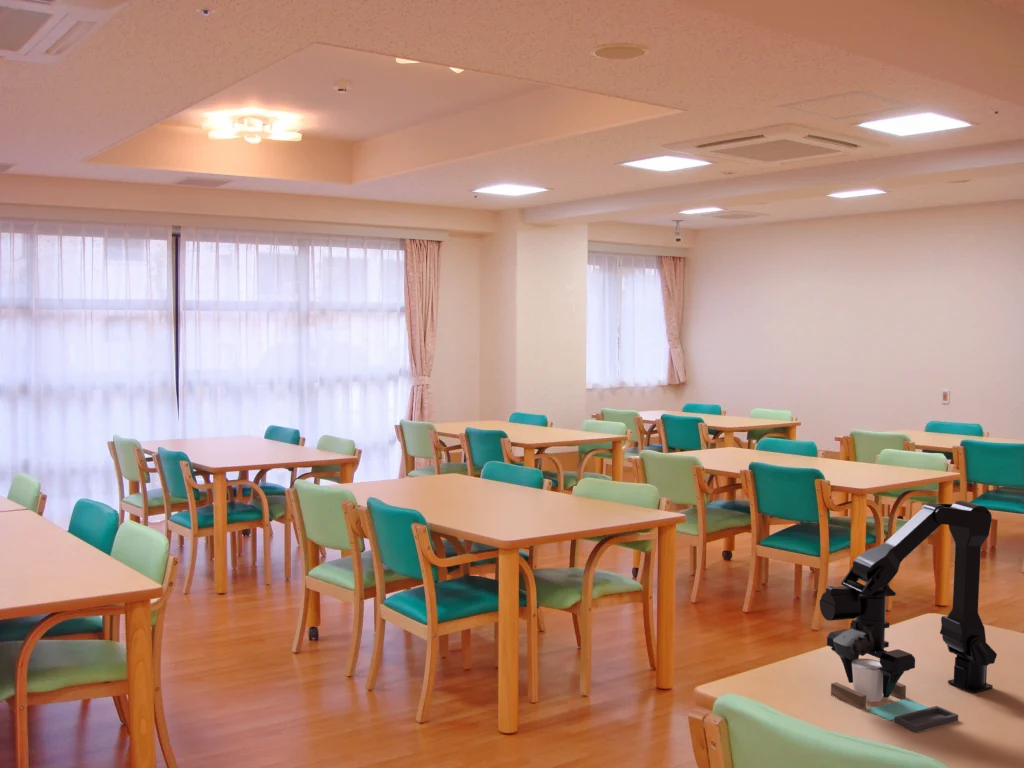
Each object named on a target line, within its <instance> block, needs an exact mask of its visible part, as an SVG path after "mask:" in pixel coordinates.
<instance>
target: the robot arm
mask: <svg viewBox="0 0 1024 768" xmlns="http://www.w3.org/2000/svg"><path fill="white" fill-rule="evenodd" d="M992 520H993V518H992V513H991V511H990V510H989V509H988V508H987V507H986V506H983V505H979V504H976V503H972V502H969V501H965V500H957V501H955V502H953V503H943V502H942V503H941V502H940V503H935V502H934V503H933V502H926V503H924V504H922V506H921V508H920V510H919V511H918V512H917V513H915V515H913V516H912V517H911V518H910V519H909V520H908V521H907V522H906V523H905V524H904V525H902V526H901V527H900V528H899V529H898V530H897V531H896V532H895V533H893V535H891V536H890V537H889V538H888V539H887V540H886V541H885V542H884V543H881V544H880V545H878V546H875V547H872V548H868V549H867V550H866V551H864V552H863V553H861V554H859V555H858V556H857V557H855V558H854V560H853V562H852V566H851V568H850V569H849V571H848V573H847V574H846V575H845V576H844V578H843V579H842V581H841V583H840V584H841V586H834V585H832V586H831V585H830V586H829V585H827V586H826V587H825V592H823V594H821V598H820V599H819V608H820V609H819V610H820V613H821V615H822V617H823V618H824V619H825V620H826V621H831V622H832V621H842V620H843V621H844V620H851V622H850V623H849V625H850V626H849V629H845V628H843V629H840V630H835V631H830V632H829V633H828V635H827V636H826V646H827V647H830V648H831V651H833V652H834V653H835V654H837V655H838V657H839V659H840V660H841V663H842V665H843V668H844V671H845V674H846V678H847V681H848V683H850V684H853V673H852V661H853V660H855V659H860V658H859V657H860V656H861V657H863V656H865V655H870V656H872V657H874V658H878V659H879V661H880V664H881V666H882V667H880V668H879V669H880V671H881V672H882V673H883V697H882V698H884V699H888V698H889V697H890V695H891V692H892V690H893V688H894V687H895V685H896V683H897V682H898V681H899V680H900V678H901V677H902V676H903V674H904V673H905V672H909V671H910V670H913V669H915V668H916V658H915V655H913V654H912V653H909V652H907V651H904V650H901V649H899V648H898V649H892V650H889V651H888V650H885V649H886V648H889V647H890V642H889V641H887V640H886V639H885V638H886V637H885V636H886V630H885V629H890V622H889V621H886V610H887V609H886V605H887V604H886V603H887V597H894V596H896V595H897V594H896V592H895V591H894V590H893V589H892V588H891V587H890V585H889V584H890V583H891V582H892V581H893V579H894V578H895V577H896V575H897V574H898V572H899V568H900V565H901V563H902V561H904V559H905V558H907V557H908V556H909V555H910V554H911V553H913V551H915V549H916V548H918V547H919V546H920V544H922V543H923V542H924V541H925V540H926V539H927V538H928V537H929V536H931V535H932V534H933V533H934V532H935V531H936V530H937V529H938V528H939V527H941V526H942V525H948V529H949V531H950V535H951V537H952V539H953V541H954V544H955V545H954V546H955V547H954V548H955V549H954V551H955V552H954V566H953V567H954V572H953V593H952V595H953V596H952V609H951V610H950V612H949V613H948V615H941V618H940V621H941V627H940V631H939V634H940V635H942V641H943V642H944V643H945V644H946V646H947V649H948V652H949V653H952V654H954V655H956V656H955V657H954V665H953V666H954V667H953V678H951V679H948V680H947V683H948V684H949V685H952V686H955V687H957V688H959V689H963V690H965V691H967V692H970V693H978V692H983V691H986V690H990V689H992V688H993V684H990V683H988V682H987V674H988V666H989V665H993V664H995V662H996V659H997V656H998V654H997V653H996V651H995V650H994V649H993V648H992V647H991V646H990V644H988V643H987V638H986V629H985V625H984V623H983V621H982V619H981V616H980V615H979V614H980V613H979V600H980V598H979V594H980V574H981V557H982V556H981V555H982V554H981V553H982V545H984V543H985V541H986V540H987V539H988V537H989V536H990V532H991V525H992ZM858 581H860V582H858ZM861 582H863V583H865V585H864V584H862V583H861Z"/></svg>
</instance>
